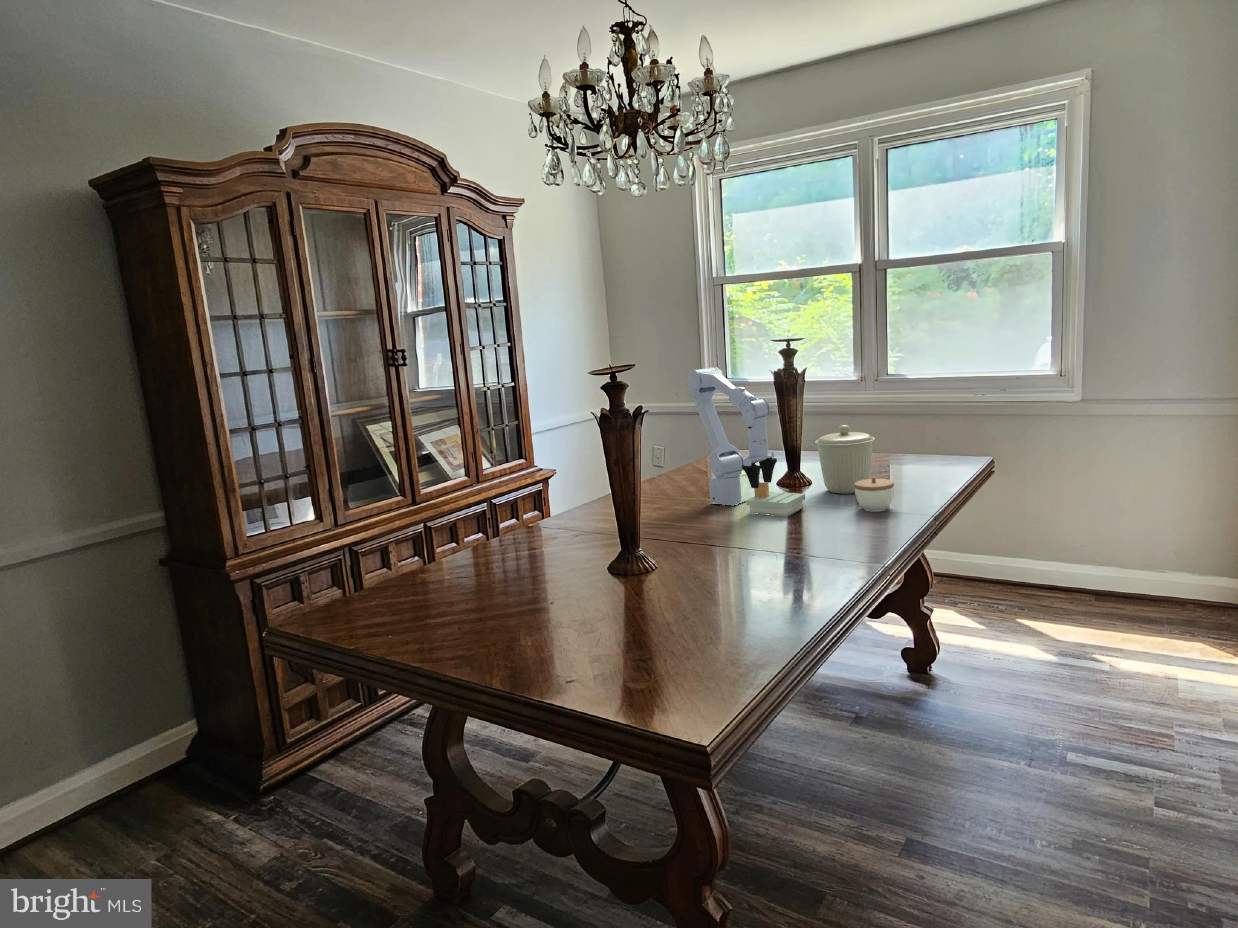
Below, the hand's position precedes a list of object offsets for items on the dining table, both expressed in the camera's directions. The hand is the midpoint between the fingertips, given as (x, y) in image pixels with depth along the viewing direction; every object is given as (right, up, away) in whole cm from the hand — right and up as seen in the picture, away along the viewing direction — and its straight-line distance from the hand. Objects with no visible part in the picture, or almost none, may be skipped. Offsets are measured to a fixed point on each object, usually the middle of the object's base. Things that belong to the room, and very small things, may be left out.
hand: (761, 485), depth 228 cm
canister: (+30, -2, +15) cm, 34 cm away
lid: (+4, -4, -2) cm, 6 cm away
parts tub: (+4, -8, -2) cm, 9 cm away
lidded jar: (+30, -7, -11) cm, 33 cm away
